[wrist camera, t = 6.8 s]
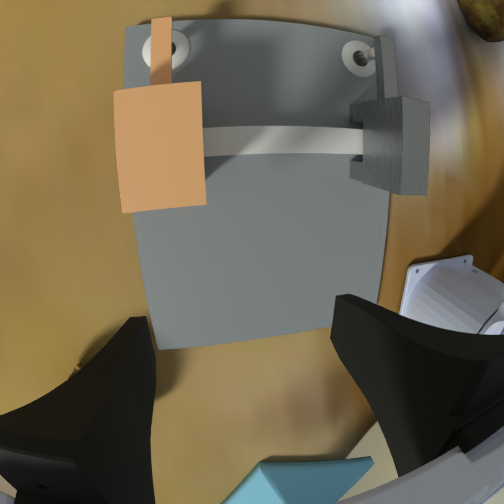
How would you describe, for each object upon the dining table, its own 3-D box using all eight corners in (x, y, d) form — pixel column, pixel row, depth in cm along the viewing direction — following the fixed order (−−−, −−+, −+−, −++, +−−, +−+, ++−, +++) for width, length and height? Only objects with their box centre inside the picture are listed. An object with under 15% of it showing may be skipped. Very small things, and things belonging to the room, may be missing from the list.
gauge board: (379, 43, 17) (396, 37, 15) (368, 311, 25) (381, 324, 23) (128, 32, 14) (121, 19, 12) (158, 342, 22) (157, 361, 20)
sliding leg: (196, 35, 14) (200, -4, 9) (200, 186, 18) (206, 204, 13) (135, 41, 14) (117, 5, 9) (140, 192, 17) (122, 213, 12)
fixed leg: (371, 51, 17) (422, 33, 11) (374, 179, 20) (426, 195, 15) (346, 45, 16) (395, 23, 11) (349, 179, 20) (400, 195, 14)
